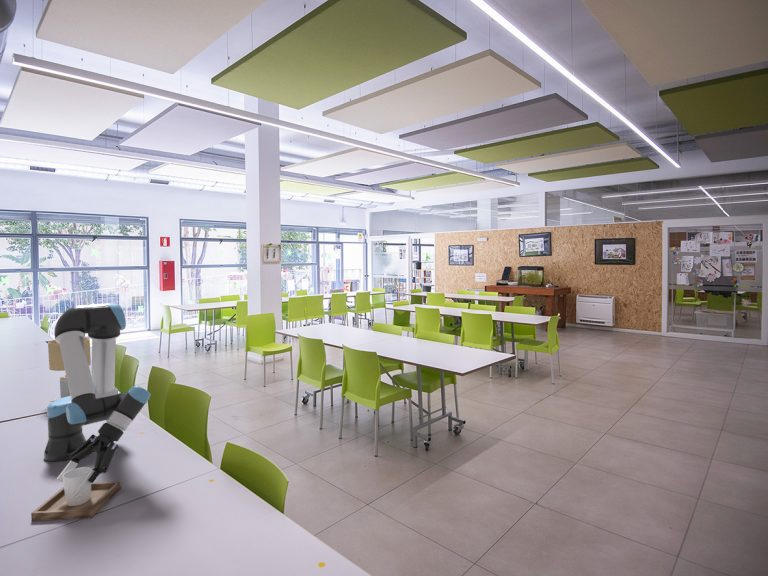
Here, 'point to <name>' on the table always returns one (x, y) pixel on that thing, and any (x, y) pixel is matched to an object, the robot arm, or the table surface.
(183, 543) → the table surface
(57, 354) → the desk lamp
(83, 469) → the white cup
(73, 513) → the walnut tray
